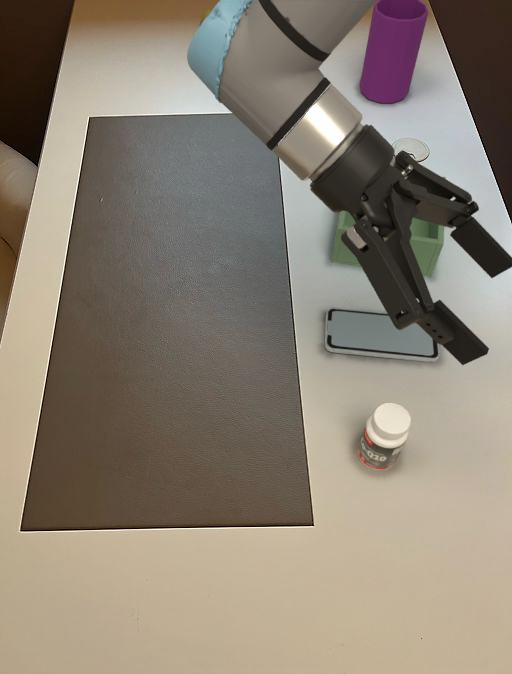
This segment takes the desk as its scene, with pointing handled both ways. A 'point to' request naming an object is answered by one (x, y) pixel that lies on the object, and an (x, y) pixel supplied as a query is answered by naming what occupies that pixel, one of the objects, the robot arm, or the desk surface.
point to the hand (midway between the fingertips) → (490, 311)
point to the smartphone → (376, 336)
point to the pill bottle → (384, 436)
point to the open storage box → (422, 241)
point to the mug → (392, 49)
